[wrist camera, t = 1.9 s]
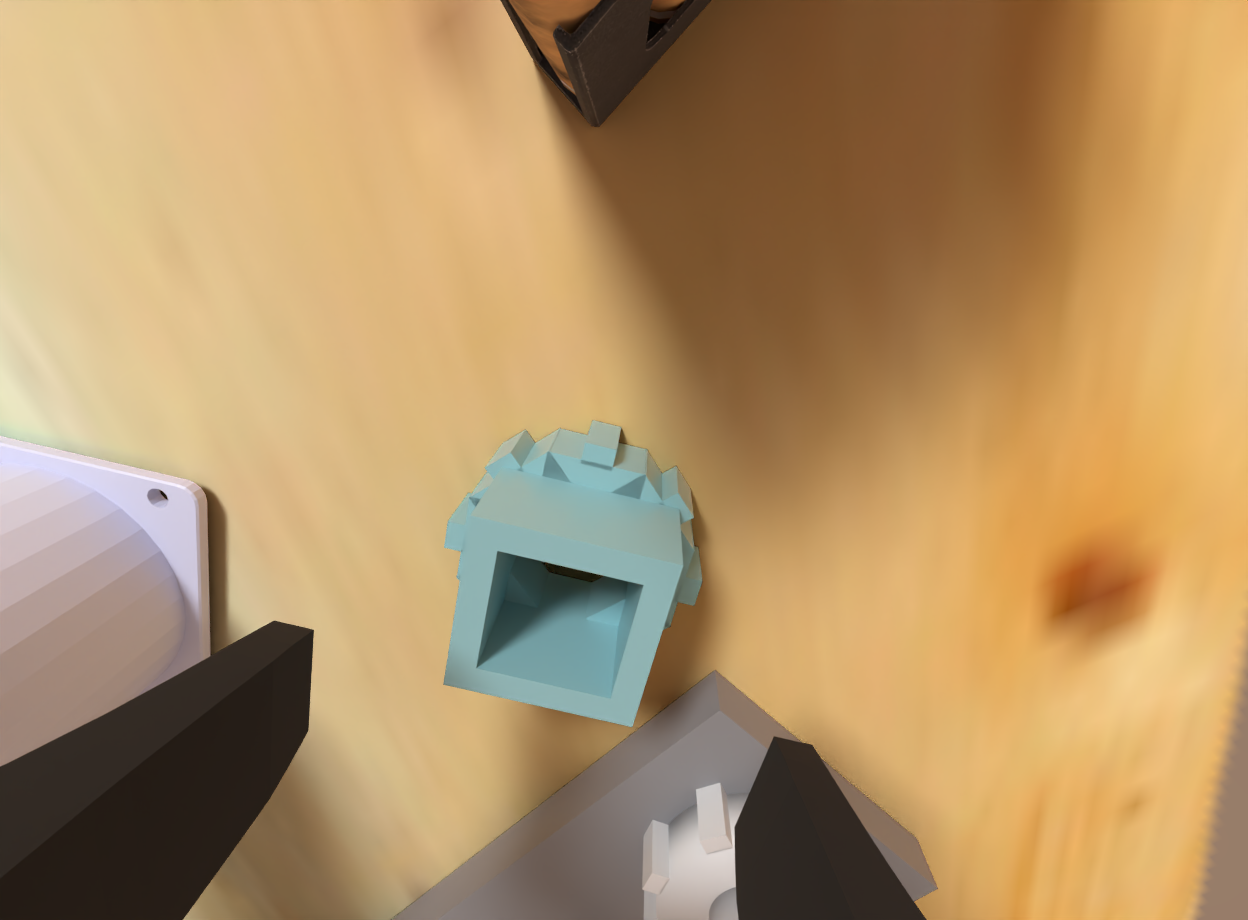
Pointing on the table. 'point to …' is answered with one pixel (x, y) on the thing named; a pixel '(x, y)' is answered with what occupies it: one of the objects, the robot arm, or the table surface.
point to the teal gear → (563, 606)
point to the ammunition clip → (599, 44)
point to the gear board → (648, 827)
